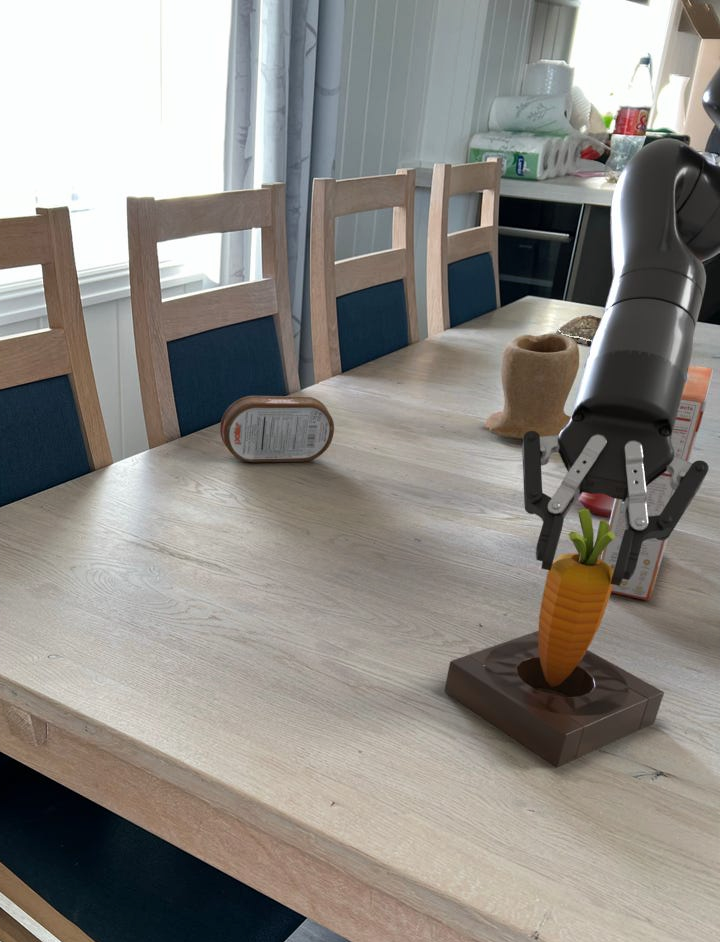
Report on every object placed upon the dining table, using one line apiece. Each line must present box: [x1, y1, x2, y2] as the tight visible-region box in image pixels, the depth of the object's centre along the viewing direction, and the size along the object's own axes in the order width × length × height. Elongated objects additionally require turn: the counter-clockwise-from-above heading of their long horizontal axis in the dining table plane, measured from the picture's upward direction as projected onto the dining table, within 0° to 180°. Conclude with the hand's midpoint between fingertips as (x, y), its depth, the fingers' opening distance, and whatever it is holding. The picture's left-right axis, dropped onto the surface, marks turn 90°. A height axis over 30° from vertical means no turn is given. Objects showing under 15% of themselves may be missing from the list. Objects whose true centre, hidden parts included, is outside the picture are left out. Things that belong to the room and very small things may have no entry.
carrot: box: [537, 507, 615, 687], centre depth 76 cm, size 5×5×15 cm
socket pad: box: [444, 630, 665, 768], centre depth 79 cm, size 12×12×3 cm
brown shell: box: [555, 314, 602, 346], centre depth 208 cm, size 13×12×5 cm
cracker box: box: [600, 364, 714, 601], centre depth 100 cm, size 14×6×21 cm, turn 154°
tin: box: [219, 395, 335, 463], centre depth 127 cm, size 15×3×8 cm, turn 102°
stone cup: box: [484, 333, 580, 440], centre depth 140 cm, size 15×12×15 cm
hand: (581, 572), depth 72 cm, fingers closed on carrot, 4 cm apart
